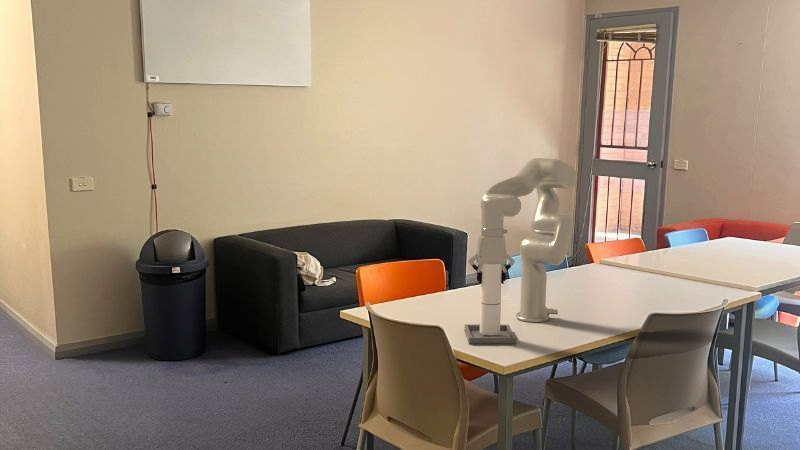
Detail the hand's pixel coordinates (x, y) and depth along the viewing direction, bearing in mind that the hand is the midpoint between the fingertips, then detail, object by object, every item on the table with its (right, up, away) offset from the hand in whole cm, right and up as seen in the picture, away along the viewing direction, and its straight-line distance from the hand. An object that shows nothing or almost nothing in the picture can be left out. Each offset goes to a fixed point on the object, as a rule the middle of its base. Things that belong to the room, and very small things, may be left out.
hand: (491, 282), depth 261 cm
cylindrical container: (0, -18, +3) cm, 18 cm away
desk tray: (0, -20, +3) cm, 20 cm away
